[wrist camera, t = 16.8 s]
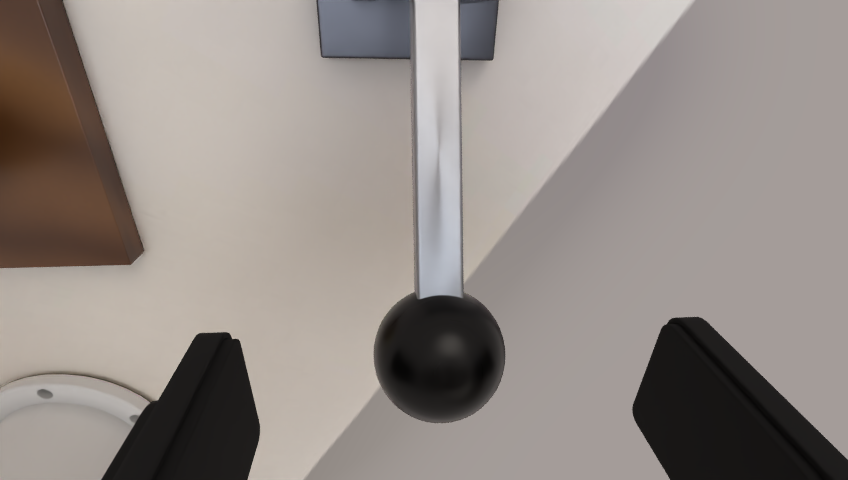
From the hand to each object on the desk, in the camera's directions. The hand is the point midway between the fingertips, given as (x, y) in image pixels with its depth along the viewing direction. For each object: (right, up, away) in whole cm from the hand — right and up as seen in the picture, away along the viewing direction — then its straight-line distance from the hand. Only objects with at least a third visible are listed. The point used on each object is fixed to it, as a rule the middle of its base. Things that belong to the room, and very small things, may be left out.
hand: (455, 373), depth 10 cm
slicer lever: (-1, +6, +2) cm, 6 cm away
